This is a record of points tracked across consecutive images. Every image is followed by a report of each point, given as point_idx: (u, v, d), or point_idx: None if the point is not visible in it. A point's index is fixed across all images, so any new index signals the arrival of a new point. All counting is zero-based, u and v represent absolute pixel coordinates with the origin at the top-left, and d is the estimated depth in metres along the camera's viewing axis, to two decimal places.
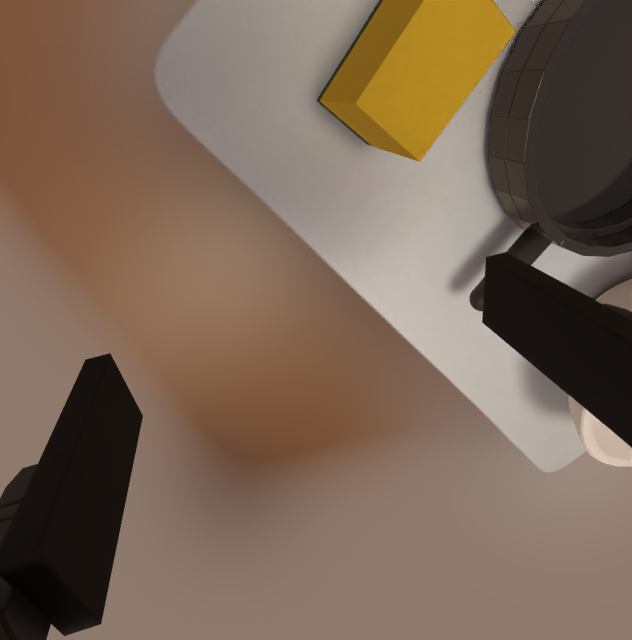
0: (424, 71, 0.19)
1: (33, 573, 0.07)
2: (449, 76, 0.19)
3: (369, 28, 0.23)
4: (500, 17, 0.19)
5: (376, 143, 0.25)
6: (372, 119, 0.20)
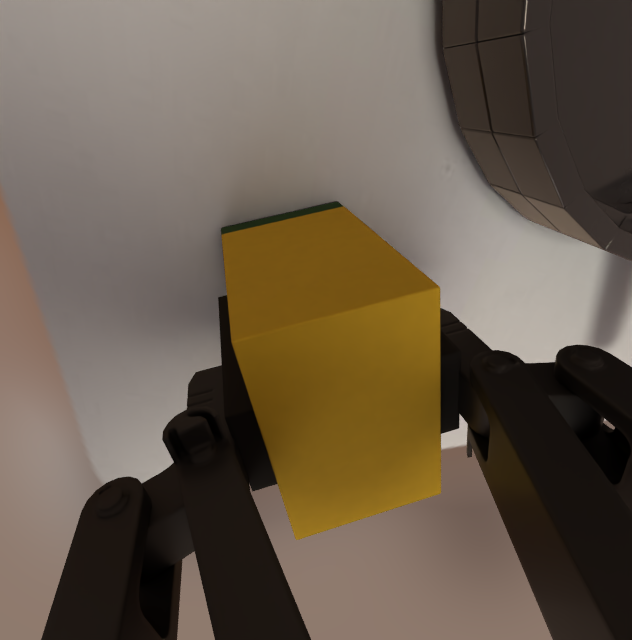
0: (347, 449, 0.10)
1: (249, 427, 0.10)
2: (388, 418, 0.10)
3: None
4: (393, 306, 0.09)
5: None
6: (332, 527, 0.12)
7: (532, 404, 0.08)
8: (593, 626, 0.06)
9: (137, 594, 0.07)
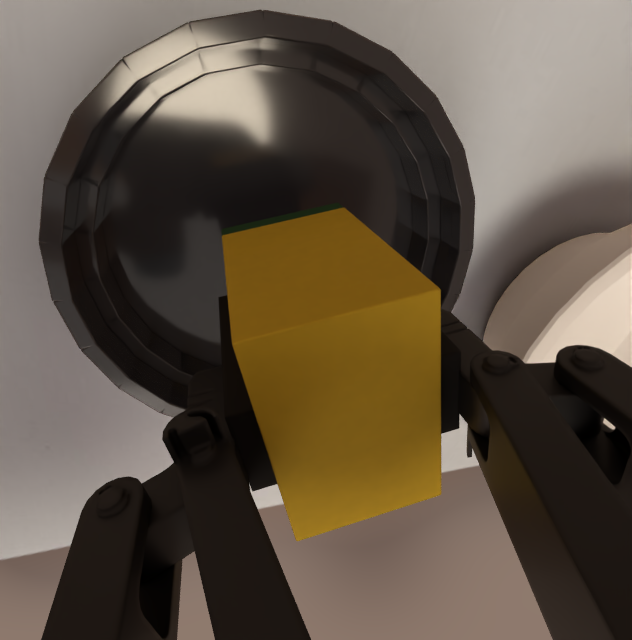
0: (347, 451, 0.10)
1: (249, 427, 0.10)
2: (389, 420, 0.10)
3: None
4: (393, 308, 0.09)
5: None
6: (333, 528, 0.12)
7: (532, 404, 0.08)
8: (593, 625, 0.06)
9: (136, 594, 0.07)
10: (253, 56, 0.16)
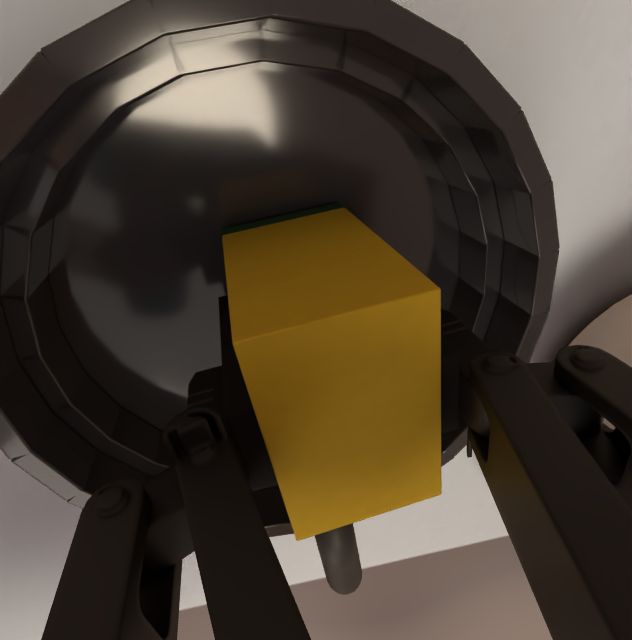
0: (347, 450, 0.10)
1: (249, 427, 0.10)
2: (389, 419, 0.10)
3: None
4: (393, 308, 0.09)
5: None
6: (333, 528, 0.12)
7: (532, 404, 0.08)
8: (593, 625, 0.06)
9: (136, 594, 0.07)
10: (253, 49, 0.11)
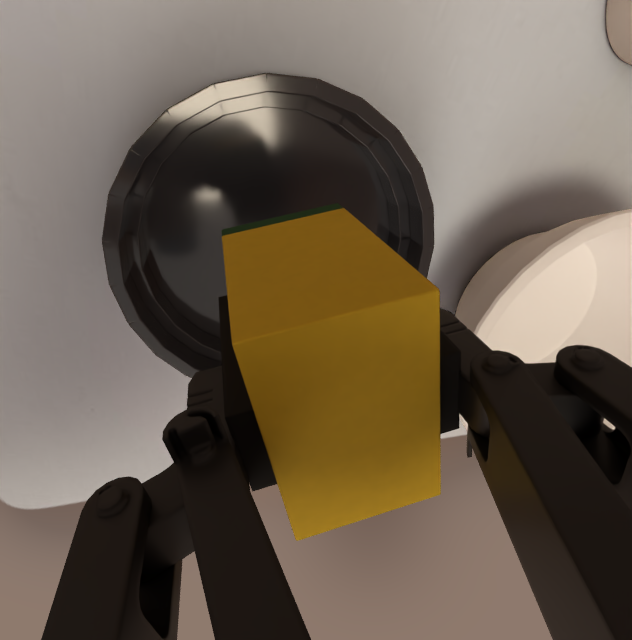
0: (347, 451, 0.10)
1: (249, 427, 0.10)
2: (388, 420, 0.10)
3: None
4: (393, 308, 0.09)
5: None
6: (332, 528, 0.12)
7: (532, 404, 0.08)
8: (593, 625, 0.06)
9: (136, 594, 0.07)
10: (259, 101, 0.22)
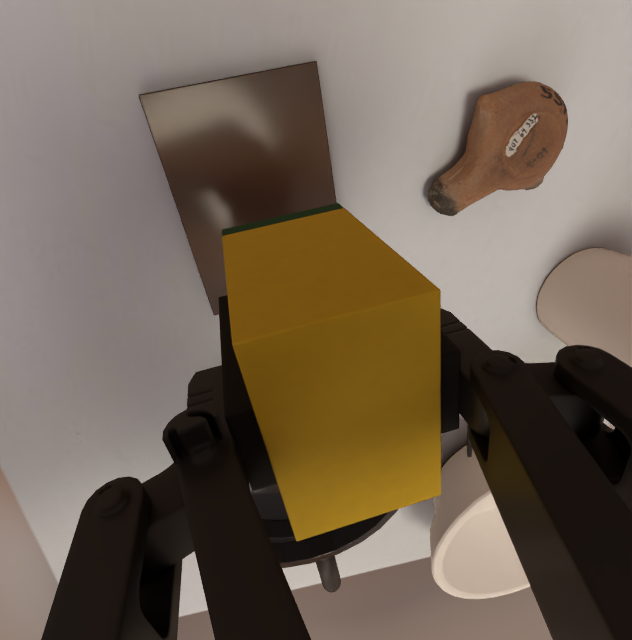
0: (347, 451, 0.10)
1: (249, 427, 0.10)
2: (388, 420, 0.10)
3: None
4: (393, 309, 0.09)
5: None
6: (333, 528, 0.12)
7: (532, 404, 0.08)
8: (593, 625, 0.06)
9: (136, 594, 0.07)
10: None
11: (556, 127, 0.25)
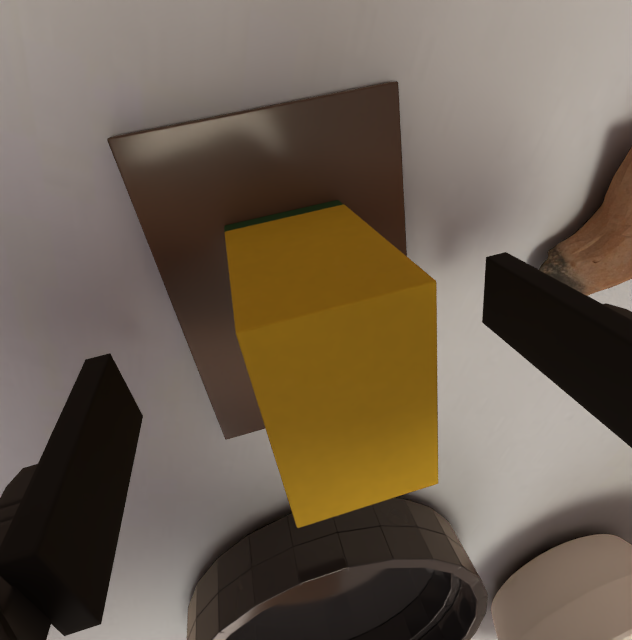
0: (346, 439, 0.11)
1: (33, 573, 0.07)
2: (386, 408, 0.10)
3: None
4: (391, 299, 0.09)
5: None
6: (332, 516, 0.12)
7: None
8: None
9: None
10: None
11: None
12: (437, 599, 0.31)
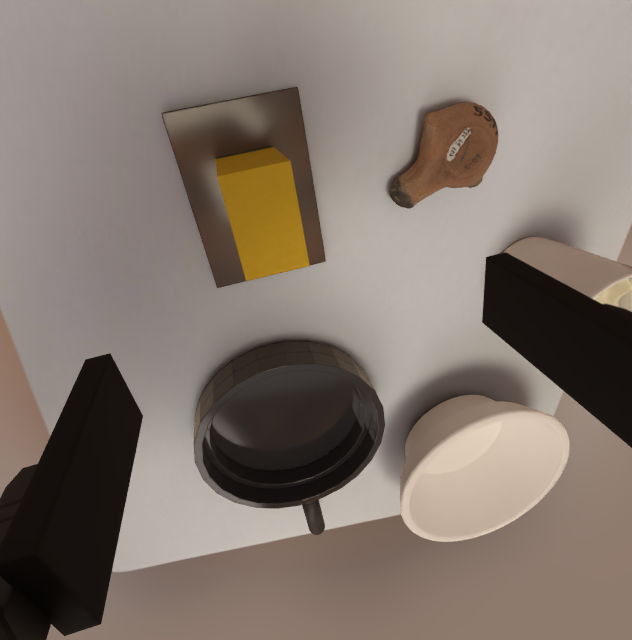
0: (263, 232, 0.26)
1: (33, 573, 0.07)
2: (278, 218, 0.26)
3: None
4: (273, 167, 0.25)
5: None
6: None
7: None
8: None
9: None
10: None
11: (486, 138, 0.32)
12: (359, 428, 0.47)
